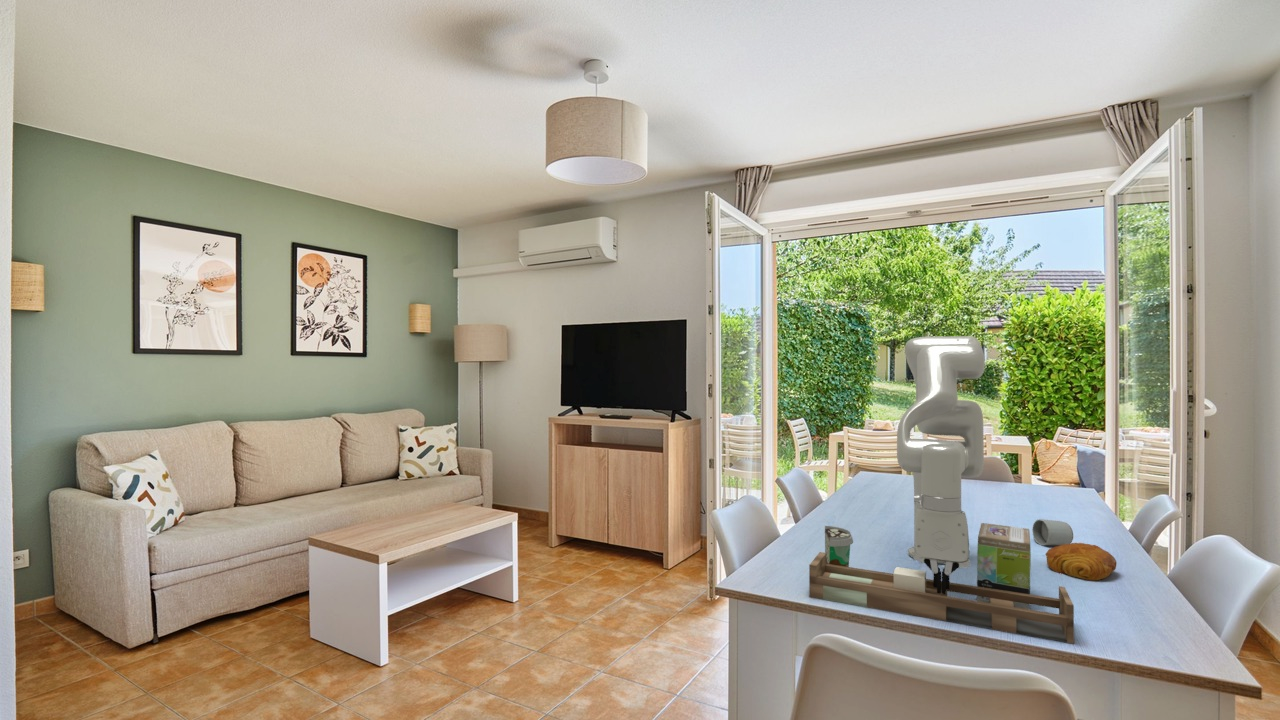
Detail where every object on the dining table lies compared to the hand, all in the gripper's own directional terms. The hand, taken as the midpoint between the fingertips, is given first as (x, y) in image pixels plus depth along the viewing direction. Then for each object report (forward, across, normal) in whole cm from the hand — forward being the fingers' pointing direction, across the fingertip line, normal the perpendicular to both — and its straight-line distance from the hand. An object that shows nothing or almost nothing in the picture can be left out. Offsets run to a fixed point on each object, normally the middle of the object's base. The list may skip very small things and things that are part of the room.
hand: (941, 591), depth 126 cm
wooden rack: (+4, -2, 0) cm, 5 cm away
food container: (+4, -23, +15) cm, 28 cm away
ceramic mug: (+4, +27, +71) cm, 76 cm away
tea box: (+4, +12, +15) cm, 20 cm away
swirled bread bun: (+4, +30, +46) cm, 55 cm away
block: (+1, -6, 0) cm, 6 cm away
